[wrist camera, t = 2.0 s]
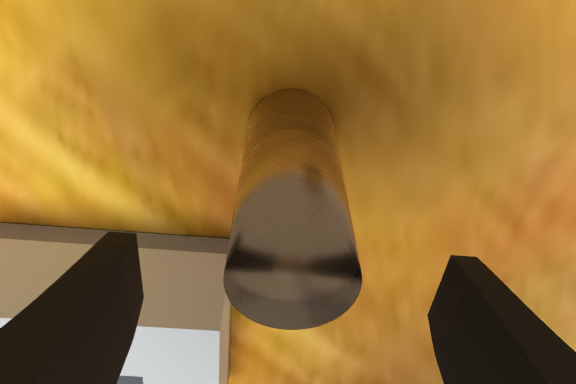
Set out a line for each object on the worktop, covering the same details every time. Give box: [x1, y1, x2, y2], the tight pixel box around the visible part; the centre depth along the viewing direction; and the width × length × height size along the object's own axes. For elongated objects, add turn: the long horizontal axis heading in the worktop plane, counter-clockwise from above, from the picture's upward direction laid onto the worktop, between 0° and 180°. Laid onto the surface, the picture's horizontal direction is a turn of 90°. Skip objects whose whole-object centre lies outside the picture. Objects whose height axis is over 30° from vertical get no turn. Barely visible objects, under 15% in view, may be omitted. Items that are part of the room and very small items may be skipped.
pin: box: [223, 89, 362, 330], centre depth 14 cm, size 3×3×8 cm
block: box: [0, 223, 231, 384], centre depth 21 cm, size 10×10×5 cm
